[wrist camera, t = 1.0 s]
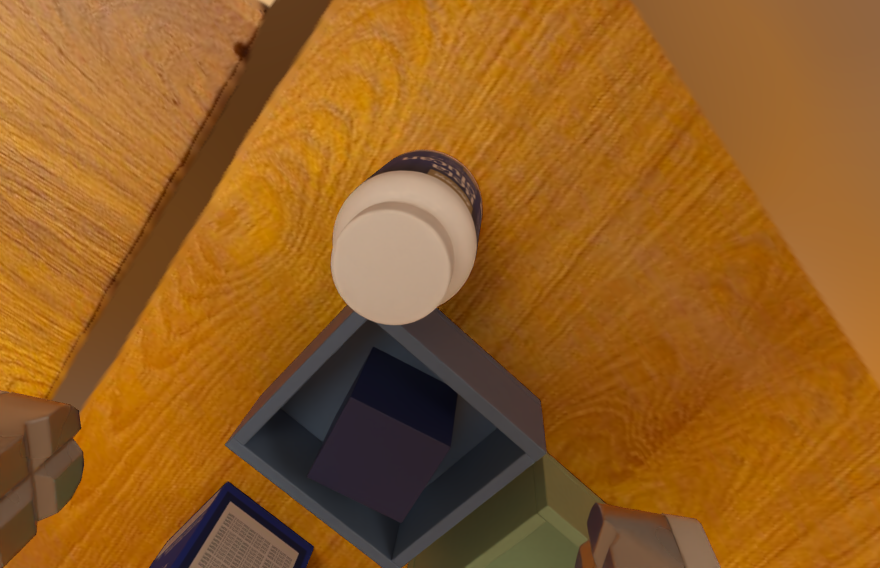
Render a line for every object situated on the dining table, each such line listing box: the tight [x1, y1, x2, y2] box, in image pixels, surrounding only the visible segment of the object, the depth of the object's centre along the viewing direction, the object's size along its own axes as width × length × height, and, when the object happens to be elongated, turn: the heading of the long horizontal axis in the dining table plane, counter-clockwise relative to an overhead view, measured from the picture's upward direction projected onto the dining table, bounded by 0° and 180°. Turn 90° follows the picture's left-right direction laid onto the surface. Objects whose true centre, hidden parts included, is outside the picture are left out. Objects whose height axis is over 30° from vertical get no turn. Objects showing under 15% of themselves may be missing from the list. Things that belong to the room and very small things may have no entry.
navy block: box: [307, 347, 458, 523], centre depth 29 cm, size 5×5×5 cm
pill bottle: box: [331, 150, 482, 325], centre depth 24 cm, size 5×5×10 cm
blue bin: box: [225, 305, 547, 568], centre depth 30 cm, size 11×11×5 cm
